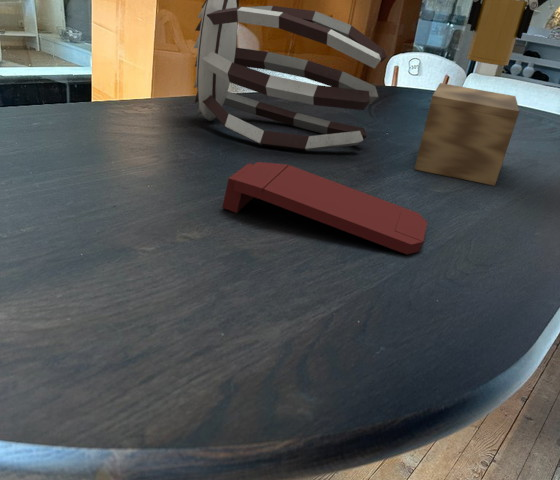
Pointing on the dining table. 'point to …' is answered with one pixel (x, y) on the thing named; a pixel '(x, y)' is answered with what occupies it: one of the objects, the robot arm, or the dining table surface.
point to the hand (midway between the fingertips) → (495, 33)
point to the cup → (496, 31)
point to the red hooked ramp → (327, 204)
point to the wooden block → (467, 133)
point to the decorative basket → (234, 69)
